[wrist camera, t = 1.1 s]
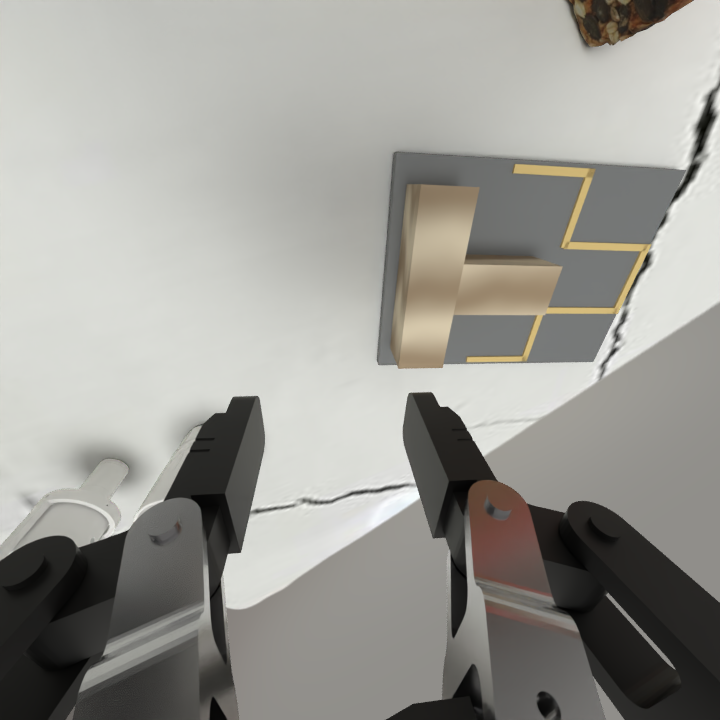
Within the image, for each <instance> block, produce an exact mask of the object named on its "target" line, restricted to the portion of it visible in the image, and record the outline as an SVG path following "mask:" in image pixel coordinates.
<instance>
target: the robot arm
mask: <svg viewBox="0 0 720 720" xmlns="http://www.w3.org/2000/svg"><path fill="white" fill-rule="evenodd" d="M472 439H473V438H472V437H471V435H470V433H469V432H468V431H467V428H466V427H465V425H464V423H463V421H462V420H461V418H460V417H459V416H458V415H457V414H456V413H455V412H453V411H452V410H451V409H450V408H449V407H440V406H439V404H438V402H437V400H436V398H435V396H434V395H433V393H431V392H422V393H409V394H408V398H407V404H406V411H405V417H404V424H403V441H404V446H405V449H406V453H407V456H408V459H409V462H410V465H411V469H412V472H413V475H414V478H415V482H416V485H417V488H418V491H419V495H420V498H421V501H422V504H423V508H424V511H425V514H426V517H427V521H428V524H429V527H430V530H431V533H432V537H433V538H446V540H447V543H448V546H449V552H448V555H447V647H446V656H445V660H444V669H443V685H442V700H438V701H431V702H424V703H416V704H412V705H410V706H409V707H407V708H405V709H403V710H402V711H400V712H398V713H397V714H395V715H393V716H391V717H390V718H388V719H386V720H606V719H605V715H604V712H603V709H602V706H601V703H600V699H599V695H598V692H597V689H596V686H595V682H594V679H593V677H594V678H595V679H596V681H597V682H598V684H599V685H600V686H601V688H602V689H603V691H604V692H605V693H606V695H607V696H608V697H609V699H610V700H611V702H612V703H613V704H614V706H615V707H616V708H617V710H618V711H619V713H620V714H621V715H622V717H623V718H624V719H625V720H720V603H719V602H718V601H717V600H716V599H715V598H714V597H712V596H711V595H710V594H709V593H708V592H707V591H705V590H704V589H703V588H702V587H701V586H700V585H698V584H697V583H696V582H695V581H694V580H693V579H692V578H690V577H689V576H688V575H687V574H686V573H685V572H683V571H682V570H681V569H680V568H679V567H678V566H677V565H675V564H674V563H673V562H672V561H671V560H669V559H668V558H667V557H666V556H665V555H664V554H663V553H662V552H660V551H659V550H658V549H657V548H656V547H655V546H654V545H652V544H651V543H650V542H649V541H648V540H647V539H645V538H644V537H643V536H642V535H641V534H640V533H639V532H637V531H636V530H635V529H634V528H633V527H632V526H631V525H629V524H628V523H627V522H626V521H625V520H624V519H622V518H621V517H620V516H619V515H617V514H616V513H614V512H613V511H611V510H609V509H607V508H605V507H603V506H601V505H599V504H596V503H592V502H588V501H578V502H574V503H572V504H571V505H570V506H569V507H568V509H567V511H566V512H565V513H563V512H559V511H554V510H550V509H546V508H541V507H536V506H533V505H530V504H527V503H526V502H525V500H524V499H523V498H522V497H521V496H520V495H519V494H518V493H517V492H516V491H515V490H514V489H512V488H510V487H509V486H507V485H505V484H503V483H500V482H498V481H497V480H496V478H495V476H494V475H493V473H492V471H491V469H490V467H489V466H488V464H487V462H486V461H485V459H484V457H483V456H482V454H481V452H480V450H479V449H478V447H477V445H476V444H475V442H474V441H473V440H472ZM264 446H265V432H264V425H263V418H262V412H261V405H260V399H259V397H258V396H244V397H233V398H232V400H231V402H230V404H229V407H228V409H227V411H226V413H215V414H214V415H213V416H212V417H211V418H209V419H208V420H207V421H206V422H205V423H204V424H203V425H202V426H201V428H200V430H199V432H198V434H197V436H196V438H195V441H194V442H193V444H192V446H191V448H190V452H189V453H188V454H187V456H186V458H185V460H184V462H183V464H182V466H181V468H180V470H179V472H178V474H177V476H176V478H175V480H174V482H173V484H172V486H171V488H170V489H169V491H168V493H167V495H166V497H165V499H164V501H163V502H160V503H158V504H156V505H154V506H153V507H151V508H149V509H148V510H147V511H145V512H144V513H143V514H142V515H141V516H140V517H139V518H137V520H136V521H135V522H134V523H133V525H132V526H131V528H130V529H129V530H128V531H125V532H123V533H120V534H118V535H115V536H112V537H109V538H106V539H103V540H100V541H97V542H94V543H91V544H88V545H85V546H82V547H79V548H78V547H77V545H76V544H75V542H74V541H73V540H72V539H71V538H69V537H66V536H60V535H57V536H49V537H44V538H41V539H38V540H35V541H33V542H31V543H28V544H26V545H24V546H22V547H20V548H19V549H17V550H15V551H14V552H12V553H11V554H9V555H8V556H6V557H5V558H4V559H2V560H1V561H0V720H66V718H67V716H68V715H69V713H70V712H71V710H72V709H73V707H74V706H75V710H74V715H73V720H239V712H238V703H237V697H236V690H235V685H234V681H233V675H232V669H231V660H230V647H229V636H228V624H227V612H226V600H225V589H224V578H223V570H224V566H225V562H226V558H227V555H228V554H231V553H241V550H242V545H243V541H244V536H245V532H246V528H247V523H248V519H249V514H250V510H251V505H252V501H253V497H254V492H255V488H256V483H257V479H258V475H259V470H260V466H261V461H262V457H263V453H264ZM607 593H609V594H610V595H611V596H612V597H613V598H614V599H615V600H616V602H617V603H618V604H619V605H620V606H621V607H622V608H623V609H624V610H625V611H626V612H627V614H628V615H629V616H630V617H631V618H632V619H633V620H634V621H635V622H636V624H637V625H638V626H639V627H640V628H641V629H642V630H643V631H644V632H645V633H646V634H647V636H648V637H649V638H650V639H651V640H652V641H653V642H654V643H655V644H656V645H657V647H658V648H659V649H660V650H661V651H662V652H663V653H664V654H665V655H666V656H667V658H668V659H669V660H670V661H671V663H672V664H673V666H674V667H675V669H676V670H675V669H673V668H672V667H671V666H669V665H668V664H667V663H666V662H665V661H664V660H663V659H662V658H661V657H660V655H659V654H658V653H657V652H656V651H655V650H654V649H653V648H652V647H651V645H650V644H649V643H648V642H647V641H646V640H645V639H644V638H643V637H642V635H641V634H640V633H639V632H638V631H637V630H636V629H635V628H634V626H633V625H632V624H631V623H630V622H629V621H628V620H627V619H626V618H625V617H624V615H623V614H622V613H621V612H620V611H619V610H618V609H617V608H616V607H615V605H614V604H613V603H612V602H611V601H610V600H609V599H608V598H607V596H606V594H607ZM75 704H76V705H75Z"/></svg>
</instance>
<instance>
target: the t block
mask: <svg viewBox="0 0 720 720" xmlns="http://www.w3.org/2000/svg"><path fill="white" fill-rule="evenodd" d="M479 188H480V187H464V186H444V185H425V184H407V187H406V197H405V206H404V216H403V226H402V235H401V245H400V255H399V265H398V274H397V284H396V294H395V303H394V313H393V323H392V333H391V342H390V349H391V351H392V354H393V356H394V359H395V361H396V364H397V366H398V369H402V368H443V363H444V358H445V353H446V349H447V344H448V339H449V334H450V329H451V324H452V319H453V315H545V314H546V311H547V309H548V306H549V303H550V300H551V298H552V295H553V292H554V289H555V287H556V284H557V281H558V278H559V276H560V273H561V270H562V267H563V266H560V265H557V264H554V263H551V262H548V261H545V260H542V259H539V258H536V257H533V256H508V255H469V254H466V251H467V247H468V242H469V237H470V232H471V227H472V222H473V217H474V213H475V208H476V203H477V198H478V193H479Z"/></svg>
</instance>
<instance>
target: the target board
mask: <svg viewBox="0 0 720 720" xmlns="http://www.w3.org/2000/svg"><path fill="white" fill-rule="evenodd" d="M685 172H686V170H676V169H660V168H644V167H628V166H612V165H596V164H580V163H564V162H549V161H533V160H517V159H501V158H485V157H469V156H453V155H437V154H421V153H405V152H395V153H394V157H393V170H392V182H391V194H390V207H389V219H388V231H387V244H386V256H385V268H384V281H383V293H382V305H381V318H380V330H379V342H378V355H377V362H378V365H397V364H396V361H395V359H394V356H393V354H392V351H391V349H390V342H391V333H392V323H393V313H394V303H395V294H396V284H397V274H398V265H399V255H400V245H401V235H402V226H403V216H404V206H405V197H406V187H407V184H425V185H444V186H464V187H480V188H479V193H478V198H477V203H476V208H475V213H474V217H473V222H472V227H471V232H470V237H469V242H468V247H467V251H466V254H469V255H508V256H533V257H536V258H539V259H542V260H545V261H548V262H551V263H554V264H557V265H560V266H563V267H562V270H561V273H560V276H559V278H558V281H557V284H556V287H555V289H554V292H553V295H552V298H551V300H550V303H549V306H548V309H547V311H546V314H545V315H453V319H452V324H451V329H450V334H449V339H448V344H447V349H446V353H445V358H444V363H443V364H484V363H550V362H593V361H594V359H595V357H596V355H597V353H598V351H599V349H600V347H601V345H602V343H603V341H604V339H605V336H606V334H607V332H608V330H609V328H610V326H611V324H612V322H613V320H614V318H615V316H616V314H618V312H619V310H620V308H621V306H622V304H623V302H624V300H625V298H626V295H627V293H628V291H629V289H630V287H631V285H632V283H633V281H634V279H635V277H636V275H637V273H638V271H639V269H640V267H641V265H642V263H643V261H644V259H645V256H646V254H647V252H648V250H649V248H650V246H651V242H652V240H653V237H654V235H655V233H656V231H657V229H658V227H659V225H660V223H661V221H662V219H663V217H664V215H665V213H666V211H667V209H668V207H669V204H670V202H671V200H672V198H673V196H674V194H675V192H676V190H677V188H678V186H679V184H680V182H681V180H682V178H683V176H684V174H685Z"/></svg>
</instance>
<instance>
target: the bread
mask: <svg viewBox="0 0 720 720" xmlns="http://www.w3.org/2000/svg"><path fill="white" fill-rule="evenodd" d="M569 1H570V2H571V3H572V4H573V6H574V13H575V16H576V18H577V20H578V23H579V27H580V32H581V34H582V36H583V38H584V40H585V42H586V43H587V44H589V46H590V47H596V46H602V45H604V44H605V43H607V42H608V43H609V45H614V44H615V43H617V42H618V41H619V40H621V41H623V40H625V39H627V38H629V37H631V36H633V35H634V34H636V33H637V32H640V31H643V30H646V29H648V28H649V27H651V26H653V25H654V24H656V23H658V22H661V21H664V20H665V19H666V18H667V17H668V16H670V15H671V14H672V13H674V12H676V11H678V10H679V9H681V8H682V7H684V6H685V5H687V4H689V3H690V2H692V1H693V0H569Z"/></svg>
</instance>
